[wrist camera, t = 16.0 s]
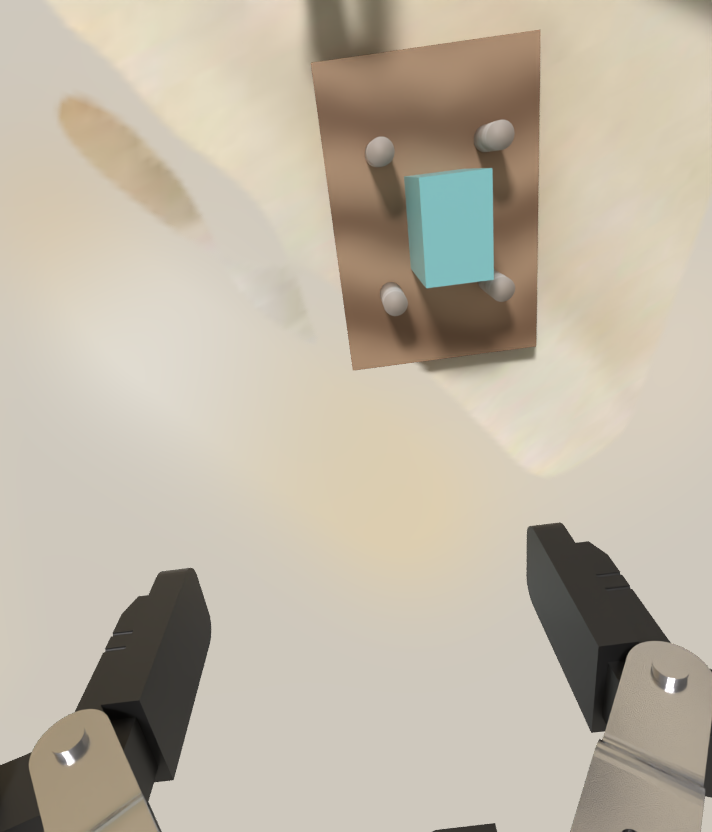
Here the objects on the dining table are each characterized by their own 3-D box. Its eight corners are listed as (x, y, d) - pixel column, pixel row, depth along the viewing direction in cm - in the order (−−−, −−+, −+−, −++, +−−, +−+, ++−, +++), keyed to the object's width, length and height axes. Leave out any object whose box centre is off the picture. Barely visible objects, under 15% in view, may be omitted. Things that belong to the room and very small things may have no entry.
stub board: (311, 67, 34) (308, 50, 30) (532, 35, 34) (562, 14, 29) (352, 364, 42) (354, 387, 38) (529, 340, 42) (553, 360, 38)
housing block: (403, 176, 36) (419, 177, 29) (464, 168, 36) (492, 168, 29) (410, 268, 38) (426, 288, 32) (467, 261, 38) (493, 279, 32)
